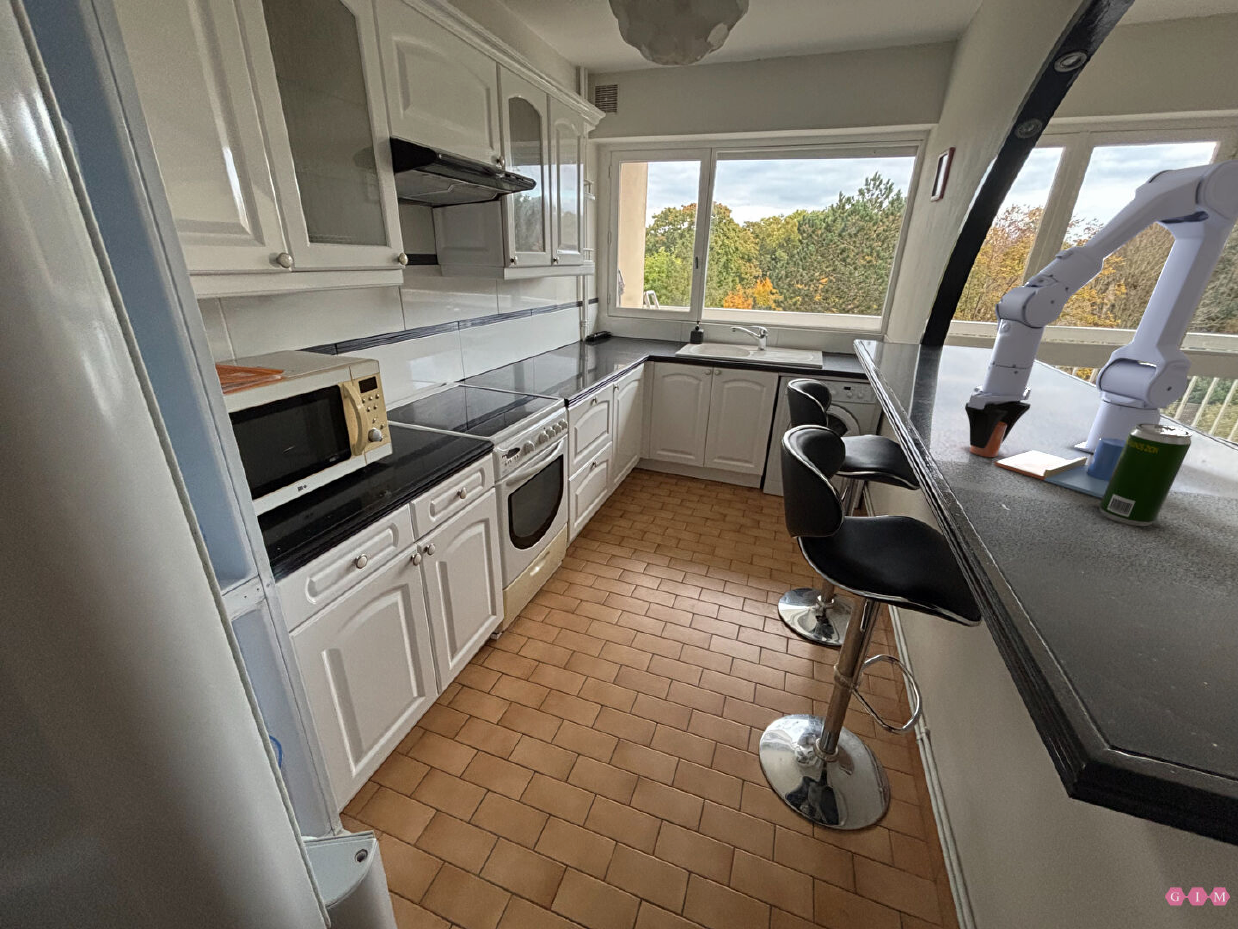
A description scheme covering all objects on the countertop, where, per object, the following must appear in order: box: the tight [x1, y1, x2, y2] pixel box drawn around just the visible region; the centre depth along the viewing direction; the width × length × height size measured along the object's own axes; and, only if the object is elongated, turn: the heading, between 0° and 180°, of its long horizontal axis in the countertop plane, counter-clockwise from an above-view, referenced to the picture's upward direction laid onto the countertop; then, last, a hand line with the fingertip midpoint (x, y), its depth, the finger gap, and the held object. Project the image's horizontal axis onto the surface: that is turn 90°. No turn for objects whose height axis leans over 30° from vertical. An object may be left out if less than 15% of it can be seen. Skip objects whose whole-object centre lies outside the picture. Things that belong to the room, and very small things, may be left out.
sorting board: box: [993, 450, 1109, 499], centre depth 79 cm, size 12×14×2 cm
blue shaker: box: [1087, 438, 1126, 481], centre depth 76 cm, size 4×4×6 cm
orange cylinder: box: [969, 421, 1007, 458], centre depth 86 cm, size 4×4×6 cm
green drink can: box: [1099, 423, 1193, 527], centre depth 63 cm, size 5×5×12 cm
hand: (986, 444), depth 87 cm, fingers open, 5 cm apart
